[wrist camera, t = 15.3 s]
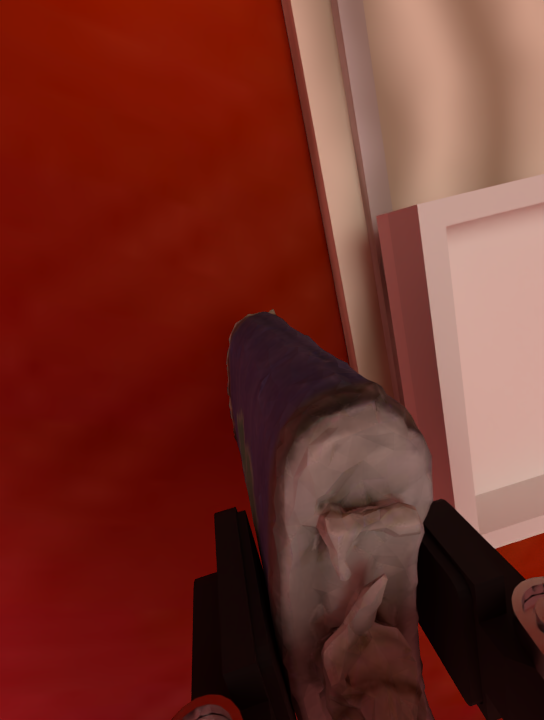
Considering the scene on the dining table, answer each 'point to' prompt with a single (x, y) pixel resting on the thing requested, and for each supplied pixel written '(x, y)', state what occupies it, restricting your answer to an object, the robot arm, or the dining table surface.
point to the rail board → (409, 128)
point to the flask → (332, 521)
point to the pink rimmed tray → (475, 347)
